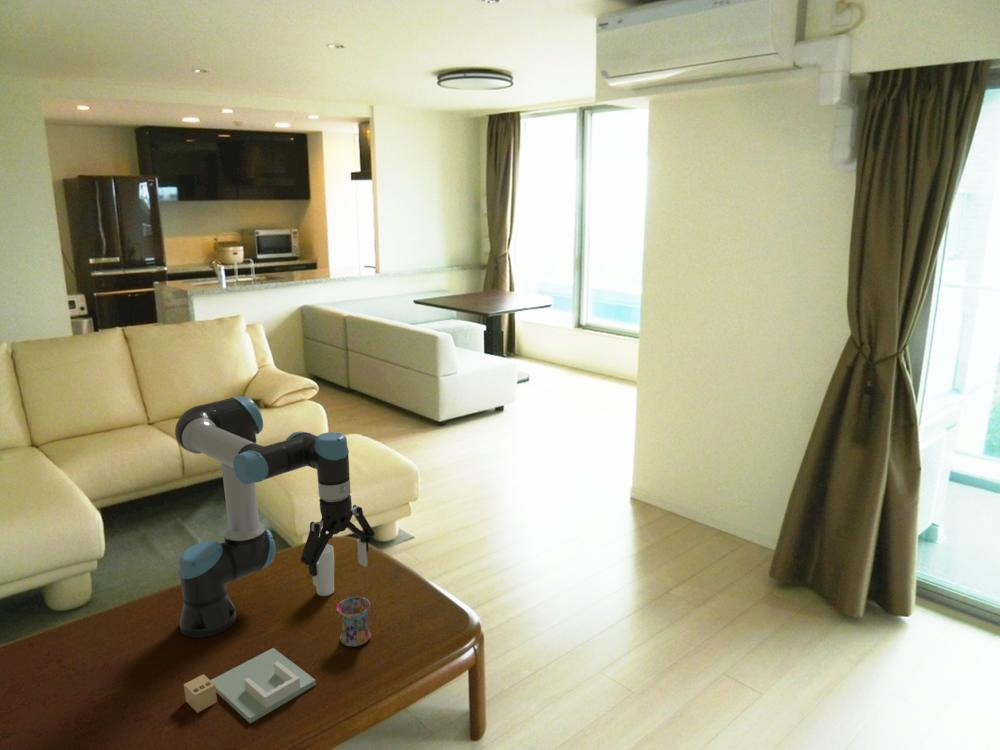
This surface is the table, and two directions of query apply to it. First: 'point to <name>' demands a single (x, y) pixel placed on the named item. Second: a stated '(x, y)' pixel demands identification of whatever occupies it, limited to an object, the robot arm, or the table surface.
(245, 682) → the board
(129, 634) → the table surface
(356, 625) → the mug
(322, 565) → the drinking glass
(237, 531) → the robot arm
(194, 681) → the plug
